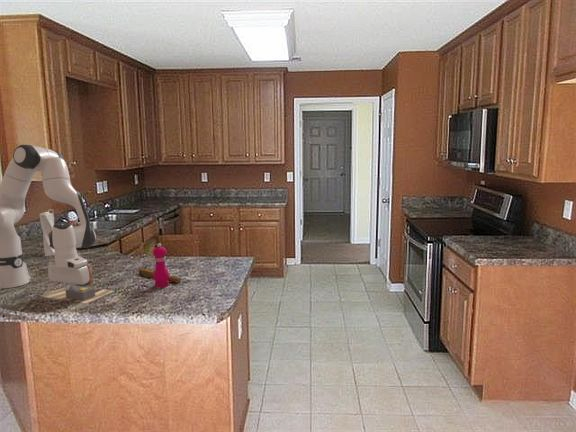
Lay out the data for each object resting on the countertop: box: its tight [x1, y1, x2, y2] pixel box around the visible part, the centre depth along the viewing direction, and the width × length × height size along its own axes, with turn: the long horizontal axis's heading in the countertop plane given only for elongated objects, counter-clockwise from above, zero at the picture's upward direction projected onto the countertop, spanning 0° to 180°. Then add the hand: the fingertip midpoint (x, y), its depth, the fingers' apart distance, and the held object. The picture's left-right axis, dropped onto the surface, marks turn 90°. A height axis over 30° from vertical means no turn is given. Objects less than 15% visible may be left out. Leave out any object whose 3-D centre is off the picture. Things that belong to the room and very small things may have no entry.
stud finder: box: [65, 285, 95, 301], centre depth 188 cm, size 10×6×4 cm, turn 68°
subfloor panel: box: [40, 285, 115, 304], centre depth 192 cm, size 26×16×1 cm, turn 68°
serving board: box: [76, 234, 111, 251], centre depth 295 cm, size 39×23×6 cm, turn 41°
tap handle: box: [137, 268, 181, 285], centre depth 216 cm, size 3×3×30 cm
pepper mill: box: [152, 243, 170, 288], centre depth 203 cm, size 7×7×20 cm
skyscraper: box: [38, 208, 55, 257], centre depth 265 cm, size 8×8×28 cm
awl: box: [85, 258, 94, 285], centre depth 206 cm, size 3×3×13 cm
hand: (70, 291), depth 190 cm, fingers closed
